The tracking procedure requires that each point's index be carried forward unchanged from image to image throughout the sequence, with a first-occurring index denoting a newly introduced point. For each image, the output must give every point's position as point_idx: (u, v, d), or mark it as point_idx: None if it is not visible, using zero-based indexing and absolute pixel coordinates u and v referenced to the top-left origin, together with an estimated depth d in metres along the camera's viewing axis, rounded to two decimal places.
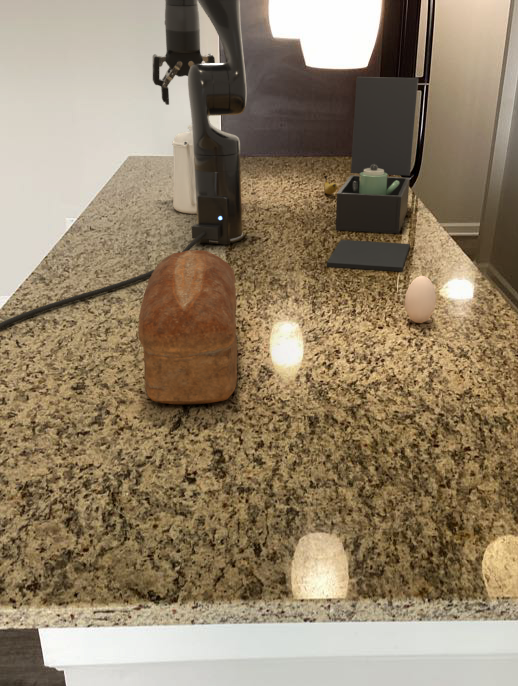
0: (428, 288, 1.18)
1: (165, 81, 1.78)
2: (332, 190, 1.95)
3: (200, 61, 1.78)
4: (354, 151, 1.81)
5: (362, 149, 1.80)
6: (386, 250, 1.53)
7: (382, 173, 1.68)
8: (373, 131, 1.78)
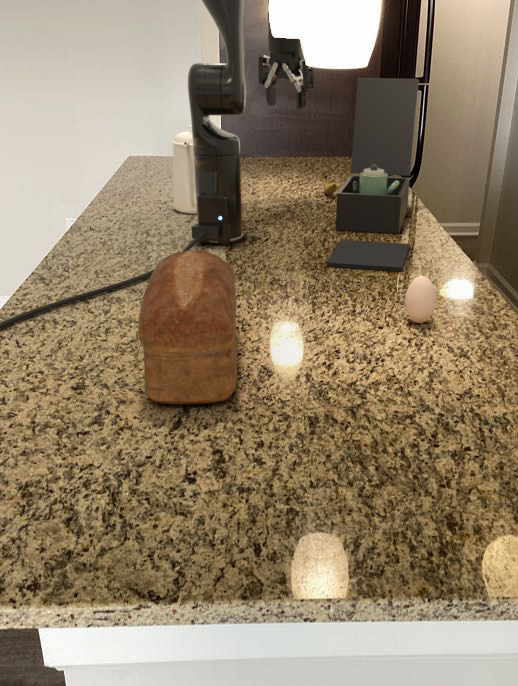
0: (428, 288, 1.18)
1: (267, 81, 1.81)
2: (332, 190, 1.95)
3: (295, 65, 1.74)
4: (354, 151, 1.81)
5: (362, 149, 1.80)
6: (386, 250, 1.53)
7: (382, 173, 1.68)
8: (374, 132, 1.79)
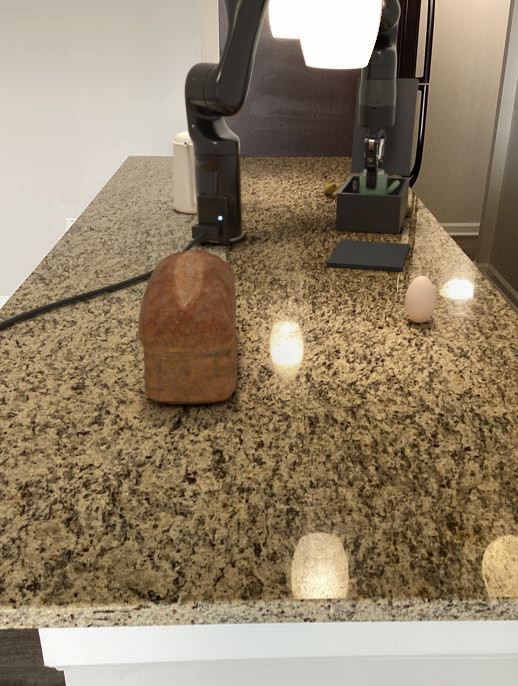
0: (428, 288, 1.18)
1: None
2: (332, 190, 1.95)
3: (368, 140, 1.63)
4: (354, 151, 1.81)
5: (362, 149, 1.80)
6: (386, 250, 1.53)
7: (382, 173, 1.68)
8: None
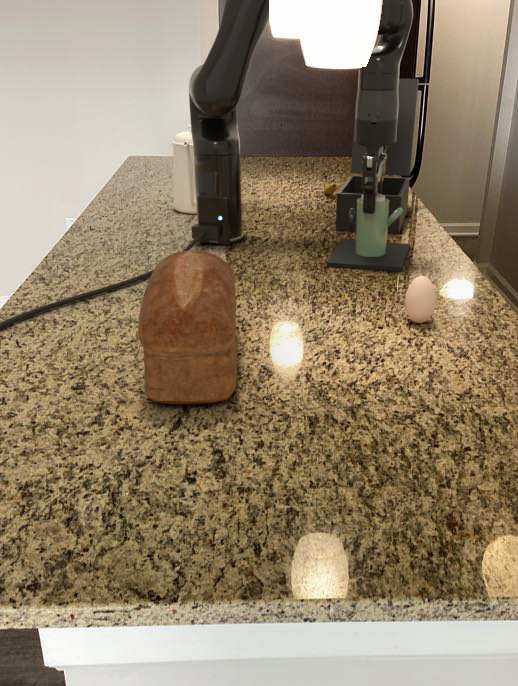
0: (428, 288, 1.18)
1: None
2: (332, 190, 1.95)
3: None
4: (354, 151, 1.81)
5: (362, 149, 1.80)
6: (386, 250, 1.53)
7: (383, 199, 1.46)
8: None
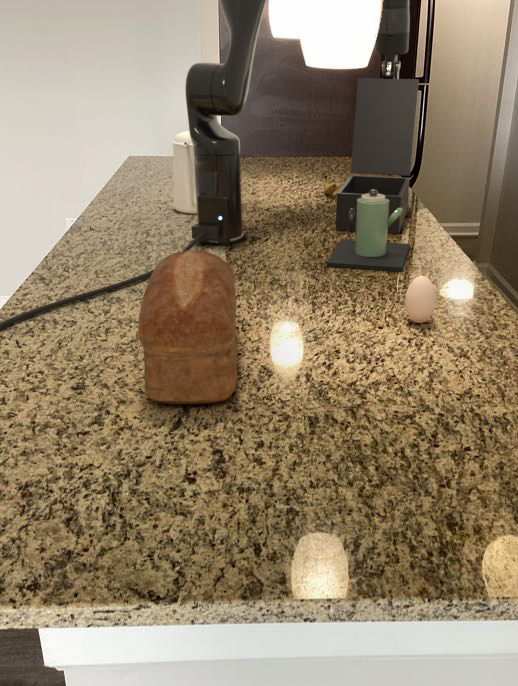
0: (428, 288, 1.18)
1: None
2: (332, 190, 1.95)
3: (384, 66, 1.77)
4: (354, 151, 1.81)
5: (362, 149, 1.81)
6: (386, 250, 1.53)
7: (383, 199, 1.46)
8: (374, 132, 1.79)
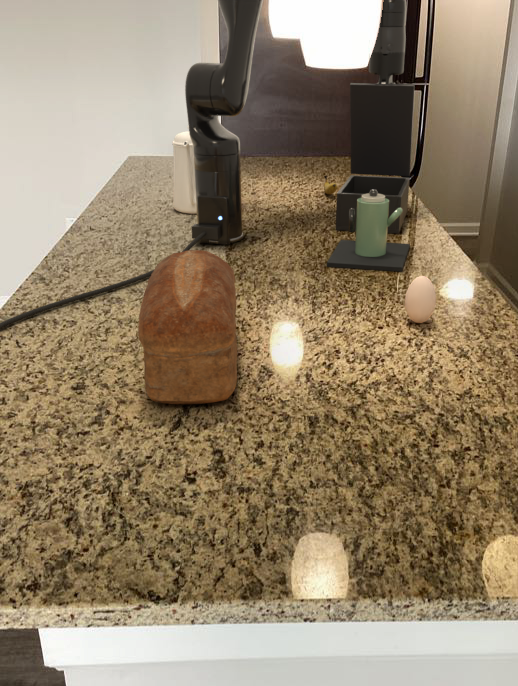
0: (428, 288, 1.18)
1: None
2: (332, 190, 1.95)
3: None
4: (352, 154, 1.79)
5: (360, 153, 1.78)
6: (386, 250, 1.53)
7: (383, 199, 1.46)
8: (371, 136, 1.75)
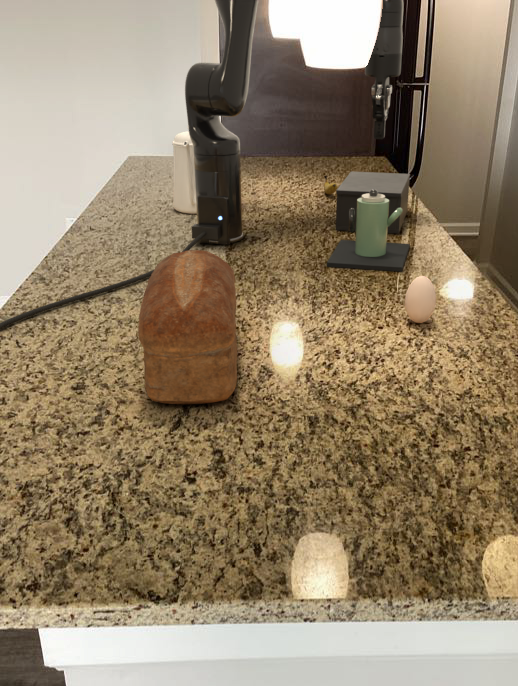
0: (428, 288, 1.18)
1: None
2: (332, 190, 1.95)
3: (374, 89, 1.64)
4: None
5: None
6: (386, 250, 1.53)
7: (383, 199, 1.46)
8: None
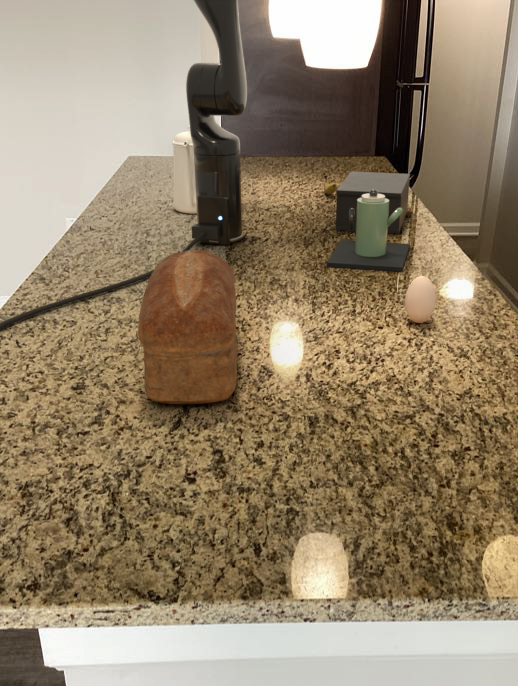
0: (428, 288, 1.18)
1: None
2: (332, 190, 1.95)
3: None
4: None
5: None
6: (386, 250, 1.53)
7: (383, 199, 1.46)
8: None
